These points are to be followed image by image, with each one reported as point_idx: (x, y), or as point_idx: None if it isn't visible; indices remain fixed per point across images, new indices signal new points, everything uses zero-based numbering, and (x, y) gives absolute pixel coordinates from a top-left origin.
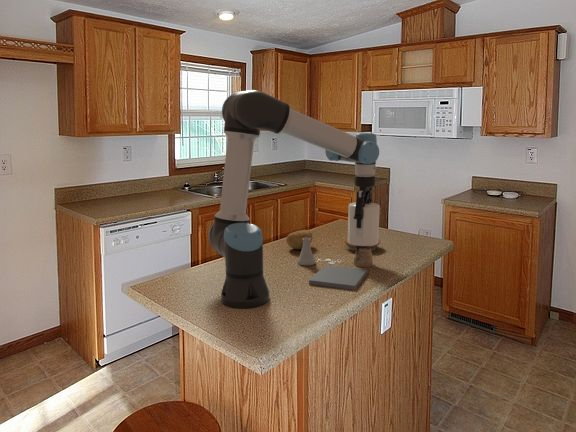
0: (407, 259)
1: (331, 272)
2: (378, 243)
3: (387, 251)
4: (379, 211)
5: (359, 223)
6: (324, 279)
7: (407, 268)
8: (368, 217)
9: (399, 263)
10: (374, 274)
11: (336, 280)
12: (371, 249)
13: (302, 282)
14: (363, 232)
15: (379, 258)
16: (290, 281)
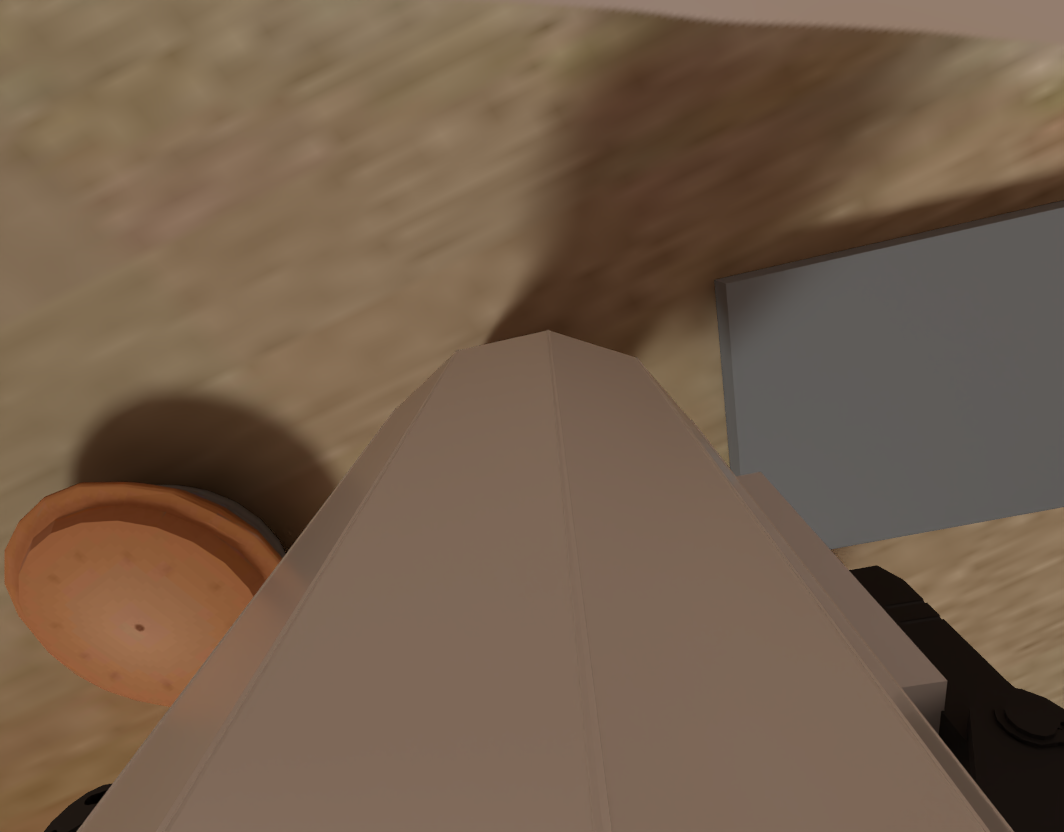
0: (175, 150)
1: (890, 465)
2: (118, 482)
3: (112, 394)
4: (279, 662)
5: (954, 647)
6: (1049, 434)
7: (415, 30)
8: (865, 651)
9: (330, 165)
10: (710, 223)
11: (1054, 359)
12: (206, 494)
13: (1028, 531)
14: (756, 503)
15: (320, 367)
16: (1026, 586)
